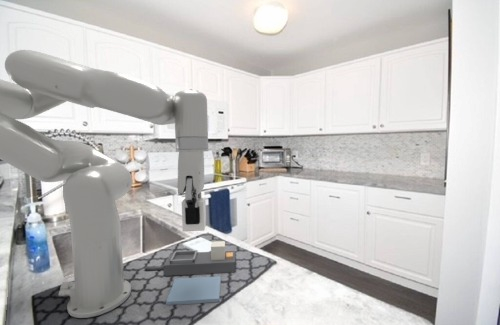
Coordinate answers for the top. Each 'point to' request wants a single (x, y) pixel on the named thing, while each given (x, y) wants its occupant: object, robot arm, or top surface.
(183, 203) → the block
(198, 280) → the mat
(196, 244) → the external hard drive
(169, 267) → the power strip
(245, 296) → the top surface
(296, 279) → the top surface
